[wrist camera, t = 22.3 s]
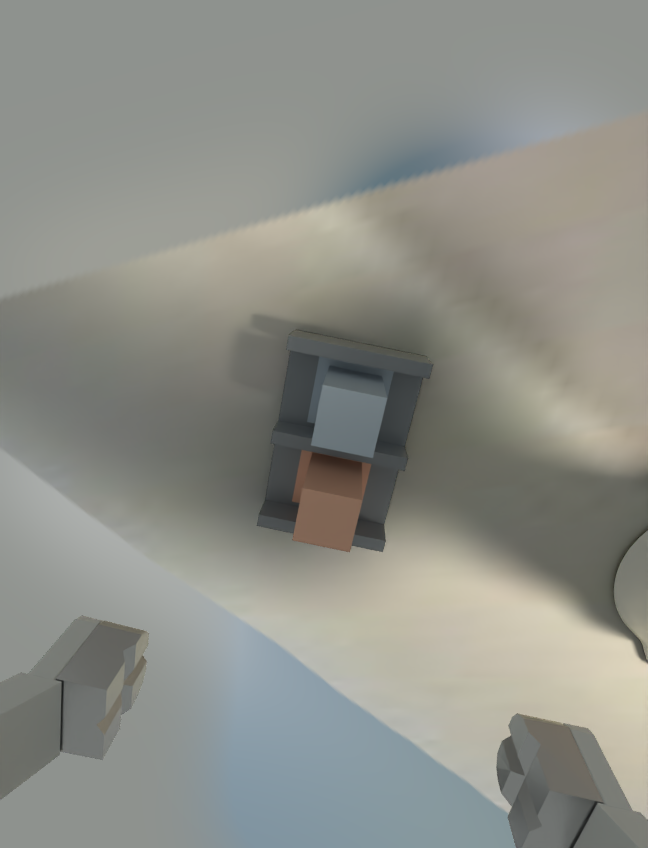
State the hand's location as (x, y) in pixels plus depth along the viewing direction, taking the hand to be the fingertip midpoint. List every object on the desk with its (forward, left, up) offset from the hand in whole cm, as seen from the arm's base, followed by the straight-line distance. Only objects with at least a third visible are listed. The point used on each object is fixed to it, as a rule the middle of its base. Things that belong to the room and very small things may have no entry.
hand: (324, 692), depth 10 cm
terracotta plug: (0, +7, -26) cm, 27 cm away
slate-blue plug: (0, 0, -26) cm, 26 cm away
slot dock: (0, +3, -27) cm, 27 cm away
